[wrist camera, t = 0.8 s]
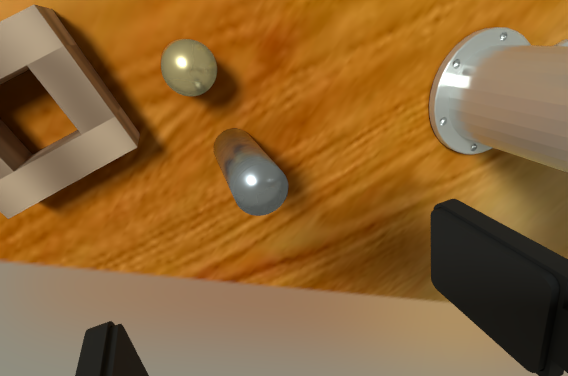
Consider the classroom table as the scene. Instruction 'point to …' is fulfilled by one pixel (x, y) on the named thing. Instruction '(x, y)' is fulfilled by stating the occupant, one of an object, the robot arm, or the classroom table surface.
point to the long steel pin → (250, 173)
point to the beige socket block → (72, 100)
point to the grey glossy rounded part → (188, 67)
